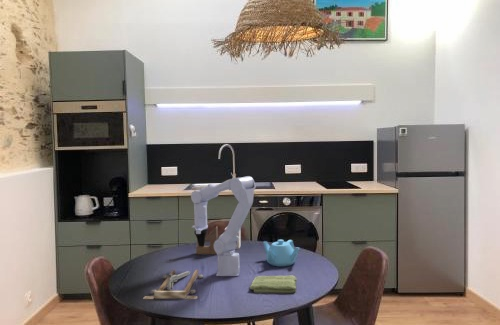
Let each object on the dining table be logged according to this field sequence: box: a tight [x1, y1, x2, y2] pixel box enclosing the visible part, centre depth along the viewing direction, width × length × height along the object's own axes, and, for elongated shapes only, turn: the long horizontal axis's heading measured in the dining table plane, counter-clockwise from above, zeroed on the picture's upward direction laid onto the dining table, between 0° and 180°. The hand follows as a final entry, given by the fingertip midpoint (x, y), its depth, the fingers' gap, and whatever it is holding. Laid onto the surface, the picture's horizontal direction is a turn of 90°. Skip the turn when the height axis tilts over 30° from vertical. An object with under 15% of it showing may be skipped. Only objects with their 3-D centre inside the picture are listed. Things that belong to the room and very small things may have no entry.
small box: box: [223, 226, 242, 250], centre depth 204 cm, size 8×6×10 cm
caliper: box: [166, 270, 192, 291], centre depth 156 cm, size 20×1×6 cm, turn 166°
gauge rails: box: [142, 269, 204, 300], centre depth 152 cm, size 20×27×2 cm
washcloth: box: [249, 274, 298, 294], centre depth 148 cm, size 13×18×3 cm
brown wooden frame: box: [195, 225, 219, 256], centre depth 194 cm, size 4×11×18 cm, turn 84°
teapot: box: [262, 239, 300, 268], centre depth 177 cm, size 15×15×11 cm
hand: (201, 245), depth 172 cm, fingers closed
